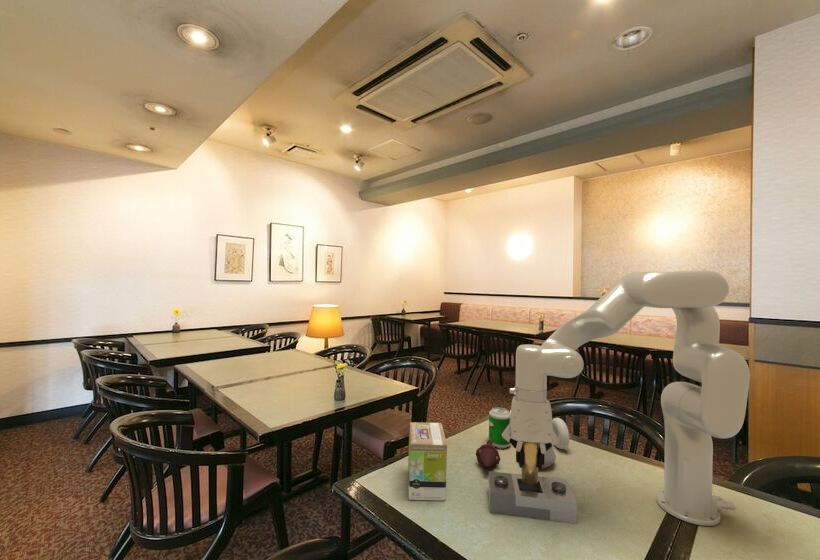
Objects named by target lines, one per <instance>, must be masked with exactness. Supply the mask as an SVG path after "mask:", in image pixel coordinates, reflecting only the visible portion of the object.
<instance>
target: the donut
mask: <svg viewBox="0 0 820 560" xmlns="http://www.w3.org/2000/svg"><path fill="white" fill-rule="evenodd" d="M552 424H553V431H554V432H555V434H556V436H557V437H558V439H559V441H560V442H559V443H557V444H556V445H554V447H556V448H558V449H560V450H565V449H567V448H568V447H569V445H570V438H571V437H570V432H569V428H568V426H567V423H566V422H565V421H564V420H563V419H562V418H559V417H554V418H552Z"/></svg>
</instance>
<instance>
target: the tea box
mask: <svg viewBox="0 0 820 560" xmlns="http://www.w3.org/2000/svg"><path fill="white" fill-rule="evenodd" d="M408 431H409V432H408V433H409V434H408V458H407V459H408V468H407V469H408V470H407V471H408V472H407V473H408V474H407V476H408V477H407V478H408V481H407V482H408V500H410V501H446V499H447V468H448V467H447V465H448V464H447V463H448V462H447V461H448V460H447V458H448V457H447V456H448V444H447V439H446V435H445V431H444V426H443V424H442V422H417V421H415V422H414V421H413V422H412V421H411V422H409V430H408Z"/></svg>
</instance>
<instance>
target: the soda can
mask: <svg viewBox="0 0 820 560" xmlns="http://www.w3.org/2000/svg"><path fill="white" fill-rule="evenodd" d="M509 424H510V411H509V410H508V408H505V407H504V408H503V407H493V408H492V409H490V410H489V412H488V440H489V439H491V440H492V441H493V444H492V445H493V446H494V447H497V448H496V449H498V448H502V449H501V450H503V449H504V448H506V449H508V448H509V447H510V446H512V445H511V444H510V442H508V441H507V440H505V439H504V438H503V437H502V433H503V432H504V430H505V429H506V428H507V426H508V425H509ZM509 435H510V434H509ZM510 436H511V435H510ZM507 447H508V448H507ZM504 450H505V449H504Z"/></svg>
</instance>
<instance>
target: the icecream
mask: <svg viewBox="0 0 820 560" xmlns="http://www.w3.org/2000/svg"><path fill="white" fill-rule="evenodd" d="M492 444H493V441H492V440H491V439H489V438H488V439H487V441H486V443H485V444H481V446H479V447H478V448H477V449H476V451H475V456H476V461H477V463H478V464H480V465H481V466H482V467H483V468H485V467H488V468H487V469H494V468H495V467H496V466H498V465H499V464H500V461H501V456H500V454H499V451H498V450H497V448H495V447H494V446H493V445H492Z"/></svg>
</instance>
